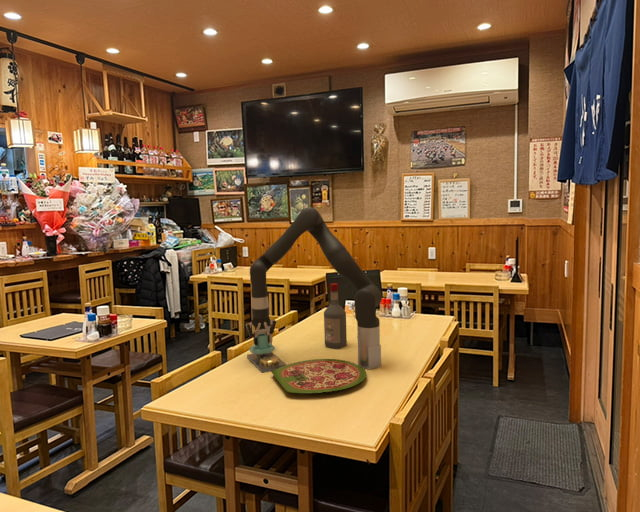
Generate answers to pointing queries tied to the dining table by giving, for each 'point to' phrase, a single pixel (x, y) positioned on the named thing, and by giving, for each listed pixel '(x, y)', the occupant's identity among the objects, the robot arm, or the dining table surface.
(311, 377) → the pizza
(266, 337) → the teal flanged hub
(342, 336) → the liquor
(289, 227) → the robot arm
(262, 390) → the dining table surface
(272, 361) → the sun gear
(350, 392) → the dining table surface
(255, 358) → the plate
